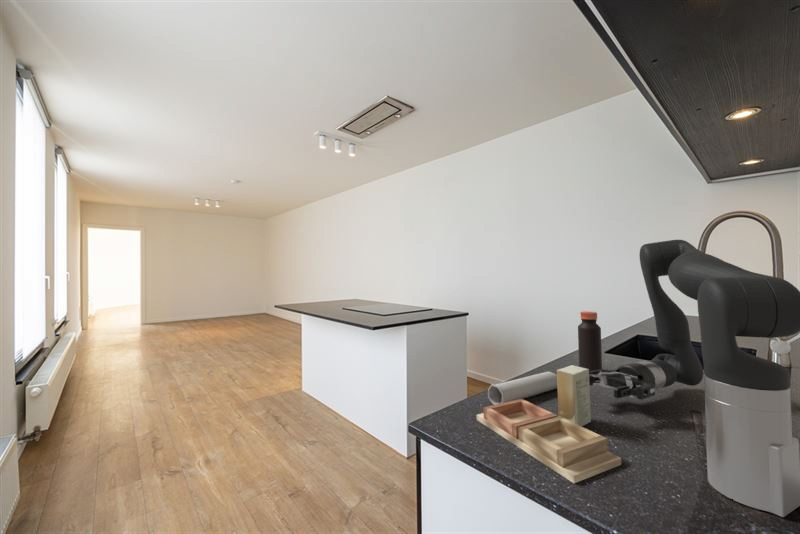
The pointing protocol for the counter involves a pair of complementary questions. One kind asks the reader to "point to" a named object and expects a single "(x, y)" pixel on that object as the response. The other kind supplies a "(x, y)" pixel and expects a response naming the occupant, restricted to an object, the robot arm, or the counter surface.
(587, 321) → the vinegar
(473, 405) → the counter surface
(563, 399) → the skincare box
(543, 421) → the two-compartment wooden tray
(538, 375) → the tube
